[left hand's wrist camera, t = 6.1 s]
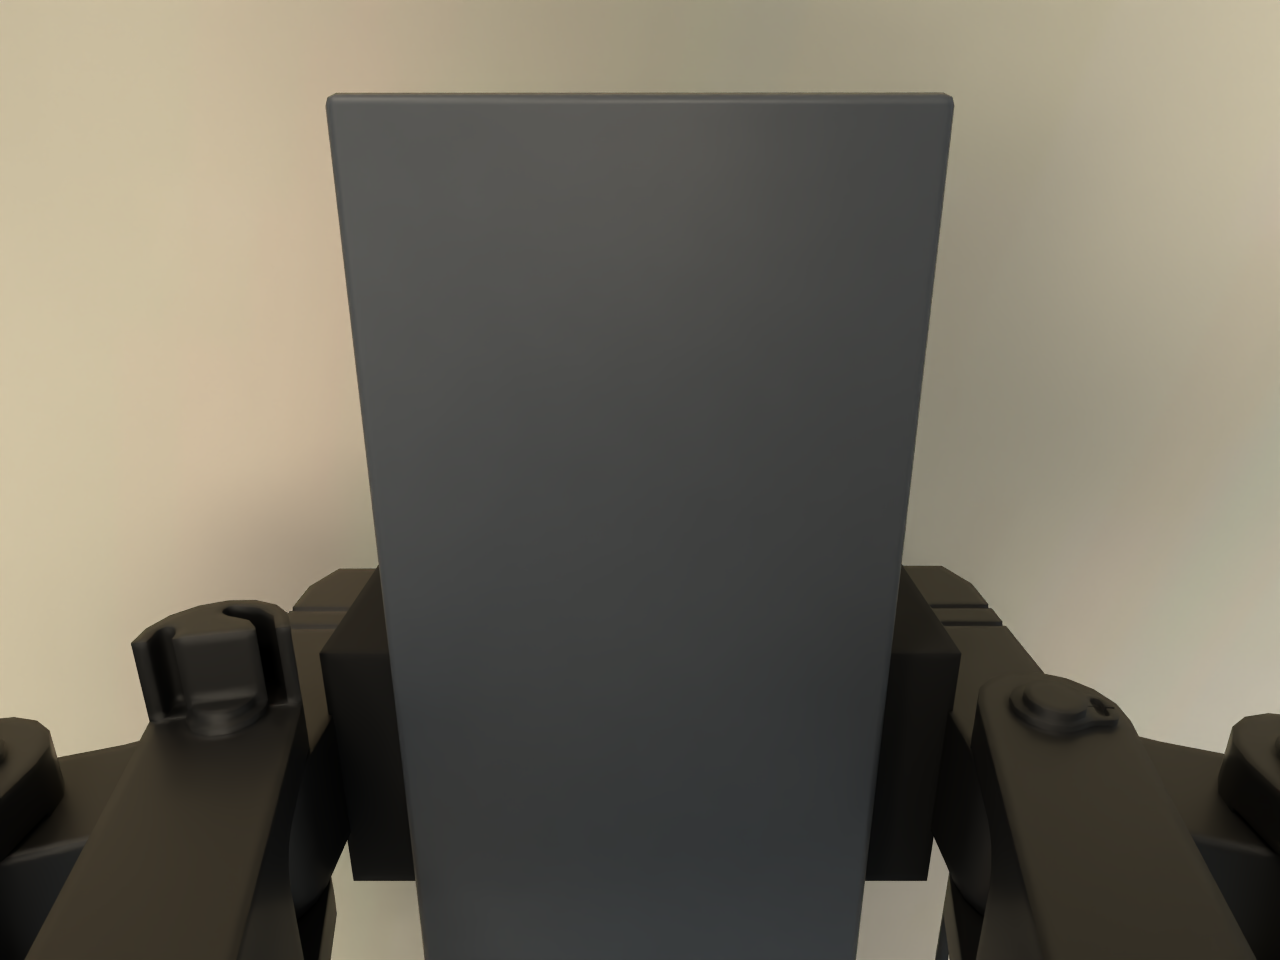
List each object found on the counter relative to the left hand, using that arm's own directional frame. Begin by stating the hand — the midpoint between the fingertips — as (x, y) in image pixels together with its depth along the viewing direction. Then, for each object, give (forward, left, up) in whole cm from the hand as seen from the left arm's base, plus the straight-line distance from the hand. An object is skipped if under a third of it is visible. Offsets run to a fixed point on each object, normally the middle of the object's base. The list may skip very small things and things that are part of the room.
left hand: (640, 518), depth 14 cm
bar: (+30, -13, -1) cm, 33 cm away
